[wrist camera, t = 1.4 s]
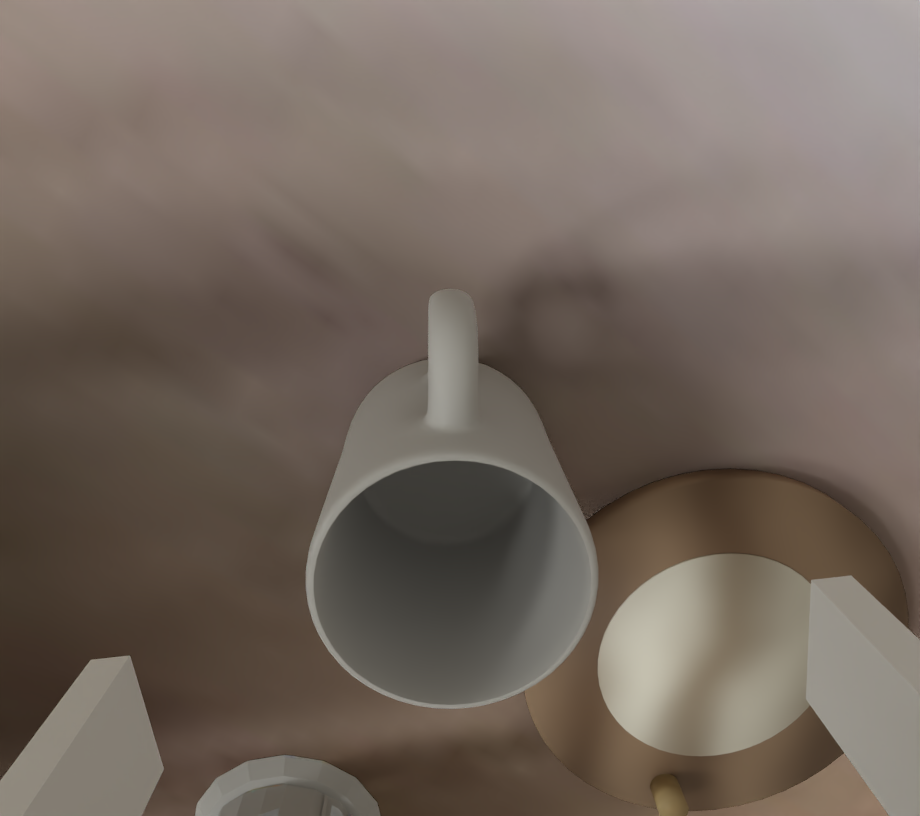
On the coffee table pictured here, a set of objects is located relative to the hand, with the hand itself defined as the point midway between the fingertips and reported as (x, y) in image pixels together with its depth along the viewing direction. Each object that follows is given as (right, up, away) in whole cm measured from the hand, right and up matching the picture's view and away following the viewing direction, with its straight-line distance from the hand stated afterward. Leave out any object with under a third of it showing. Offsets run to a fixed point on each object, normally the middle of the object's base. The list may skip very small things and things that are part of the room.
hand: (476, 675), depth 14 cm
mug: (-1, +5, +16) cm, 17 cm away
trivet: (+11, -6, +20) cm, 24 cm away
